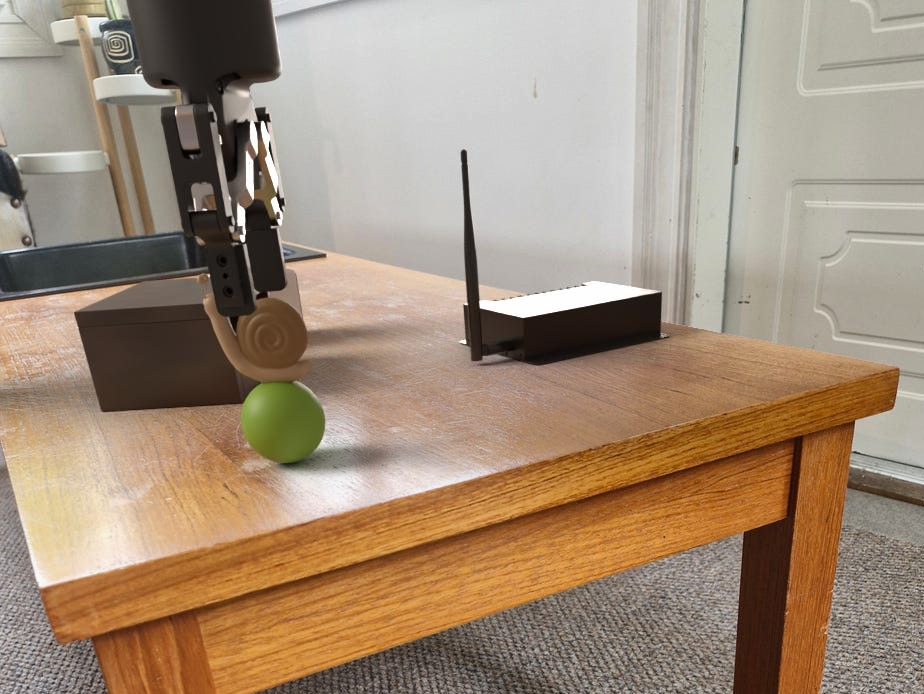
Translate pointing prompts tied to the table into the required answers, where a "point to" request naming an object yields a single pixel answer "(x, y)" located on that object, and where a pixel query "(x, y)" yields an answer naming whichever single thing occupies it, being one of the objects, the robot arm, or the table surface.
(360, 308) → the table surface
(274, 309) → the snail figurine
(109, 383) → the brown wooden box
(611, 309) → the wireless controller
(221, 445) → the table surface
